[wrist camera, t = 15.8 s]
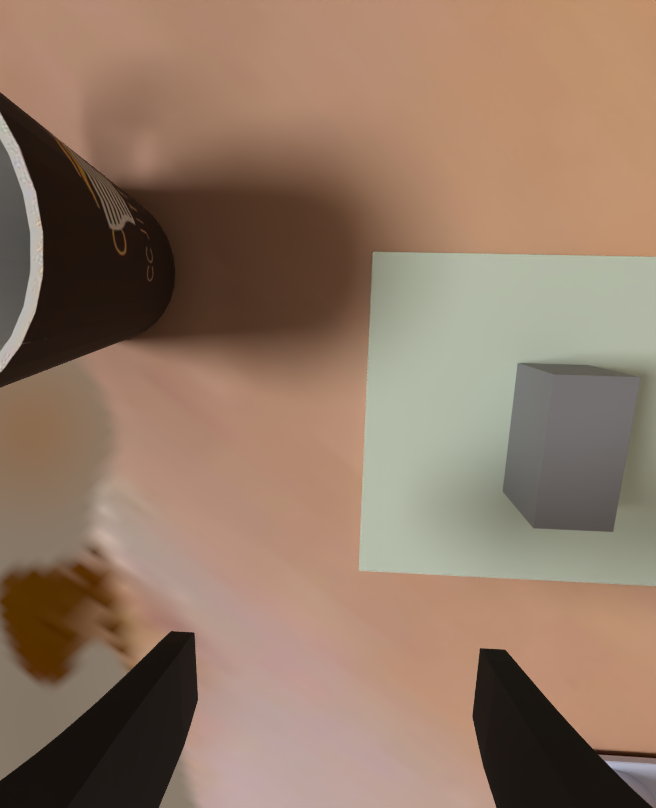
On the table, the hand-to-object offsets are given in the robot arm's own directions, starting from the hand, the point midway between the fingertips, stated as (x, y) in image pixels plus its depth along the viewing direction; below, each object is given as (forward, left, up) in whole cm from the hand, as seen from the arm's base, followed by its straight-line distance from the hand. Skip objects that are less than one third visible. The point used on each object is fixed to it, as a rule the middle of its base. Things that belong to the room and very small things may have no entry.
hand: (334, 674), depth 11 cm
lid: (+4, -9, -11) cm, 15 cm away
